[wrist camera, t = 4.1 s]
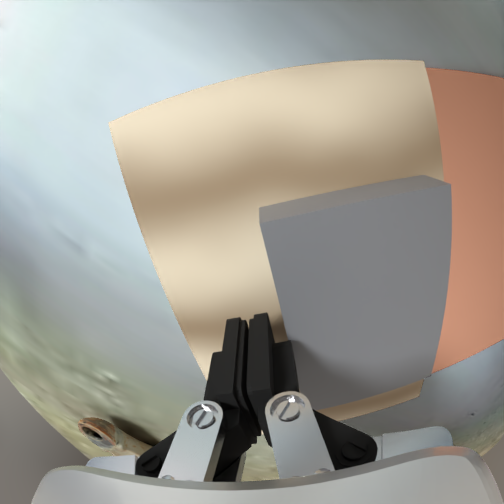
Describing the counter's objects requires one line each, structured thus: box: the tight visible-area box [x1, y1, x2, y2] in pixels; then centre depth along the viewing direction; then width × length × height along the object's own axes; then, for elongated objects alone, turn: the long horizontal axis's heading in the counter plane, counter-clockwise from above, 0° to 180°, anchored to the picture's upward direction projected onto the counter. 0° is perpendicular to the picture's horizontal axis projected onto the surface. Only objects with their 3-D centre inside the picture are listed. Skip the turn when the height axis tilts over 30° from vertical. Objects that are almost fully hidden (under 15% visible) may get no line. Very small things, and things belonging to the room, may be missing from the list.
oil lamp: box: [78, 417, 153, 457], centre depth 18 cm, size 9×21×10 cm, turn 29°
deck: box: [109, 60, 444, 434], centre depth 13 cm, size 20×13×2 cm, turn 14°
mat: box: [426, 68, 504, 374], centre depth 13 cm, size 20×12×1 cm, turn 14°
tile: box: [259, 175, 452, 410], centre depth 11 cm, size 10×7×2 cm
